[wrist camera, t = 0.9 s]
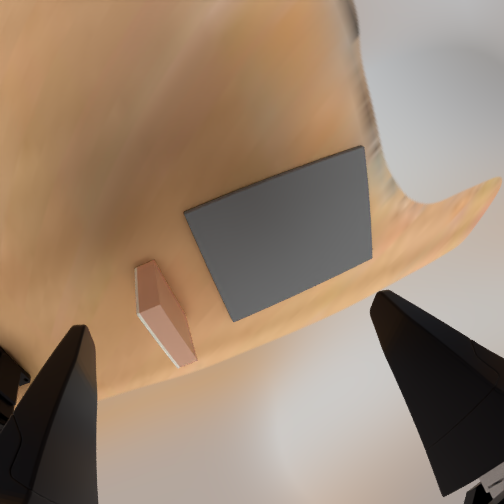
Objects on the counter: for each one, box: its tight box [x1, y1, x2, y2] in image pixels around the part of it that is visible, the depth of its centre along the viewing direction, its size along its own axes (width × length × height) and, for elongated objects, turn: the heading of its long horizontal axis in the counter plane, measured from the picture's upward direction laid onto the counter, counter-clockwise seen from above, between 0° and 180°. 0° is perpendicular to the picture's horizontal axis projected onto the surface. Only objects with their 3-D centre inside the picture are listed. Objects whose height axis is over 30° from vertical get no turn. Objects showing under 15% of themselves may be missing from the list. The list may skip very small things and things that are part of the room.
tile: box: [135, 260, 198, 368], centre depth 22 cm, size 2×6×5 cm, turn 16°
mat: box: [184, 146, 372, 322], centre depth 25 cm, size 14×11×1 cm
